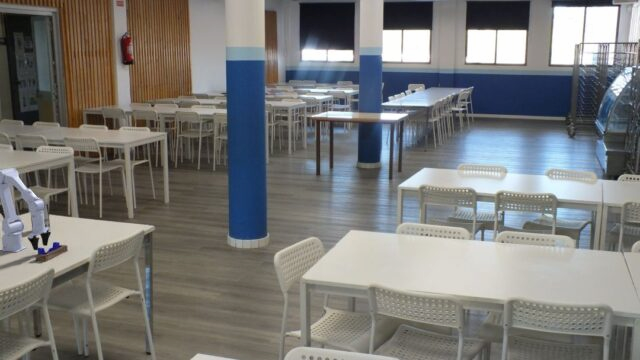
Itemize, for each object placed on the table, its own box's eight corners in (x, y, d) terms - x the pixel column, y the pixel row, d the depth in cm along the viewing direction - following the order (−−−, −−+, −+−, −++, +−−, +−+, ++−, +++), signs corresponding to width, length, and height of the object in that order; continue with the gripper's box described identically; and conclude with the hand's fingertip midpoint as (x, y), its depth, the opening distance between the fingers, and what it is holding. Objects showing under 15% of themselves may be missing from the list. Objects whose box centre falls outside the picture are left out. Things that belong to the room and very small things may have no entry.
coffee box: (51, 230, 389) (48, 204, 386) (41, 233, 384) (38, 206, 380) (41, 228, 394) (39, 202, 390) (31, 230, 388) (29, 204, 385)
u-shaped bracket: (35, 260, 335) (35, 255, 335) (57, 249, 353) (57, 244, 352) (46, 261, 334) (45, 255, 333) (67, 250, 351) (67, 245, 350)
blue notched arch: (53, 252, 349) (52, 241, 348) (60, 253, 348) (59, 242, 346) (36, 259, 338) (35, 247, 337) (42, 260, 337) (41, 249, 335)
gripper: (35, 227, 333) (38, 252, 336) (53, 219, 347) (55, 244, 350) (23, 226, 335) (26, 251, 338) (42, 218, 349) (44, 243, 352)
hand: (40, 247), depth 344 cm, fingers open, 7 cm apart
